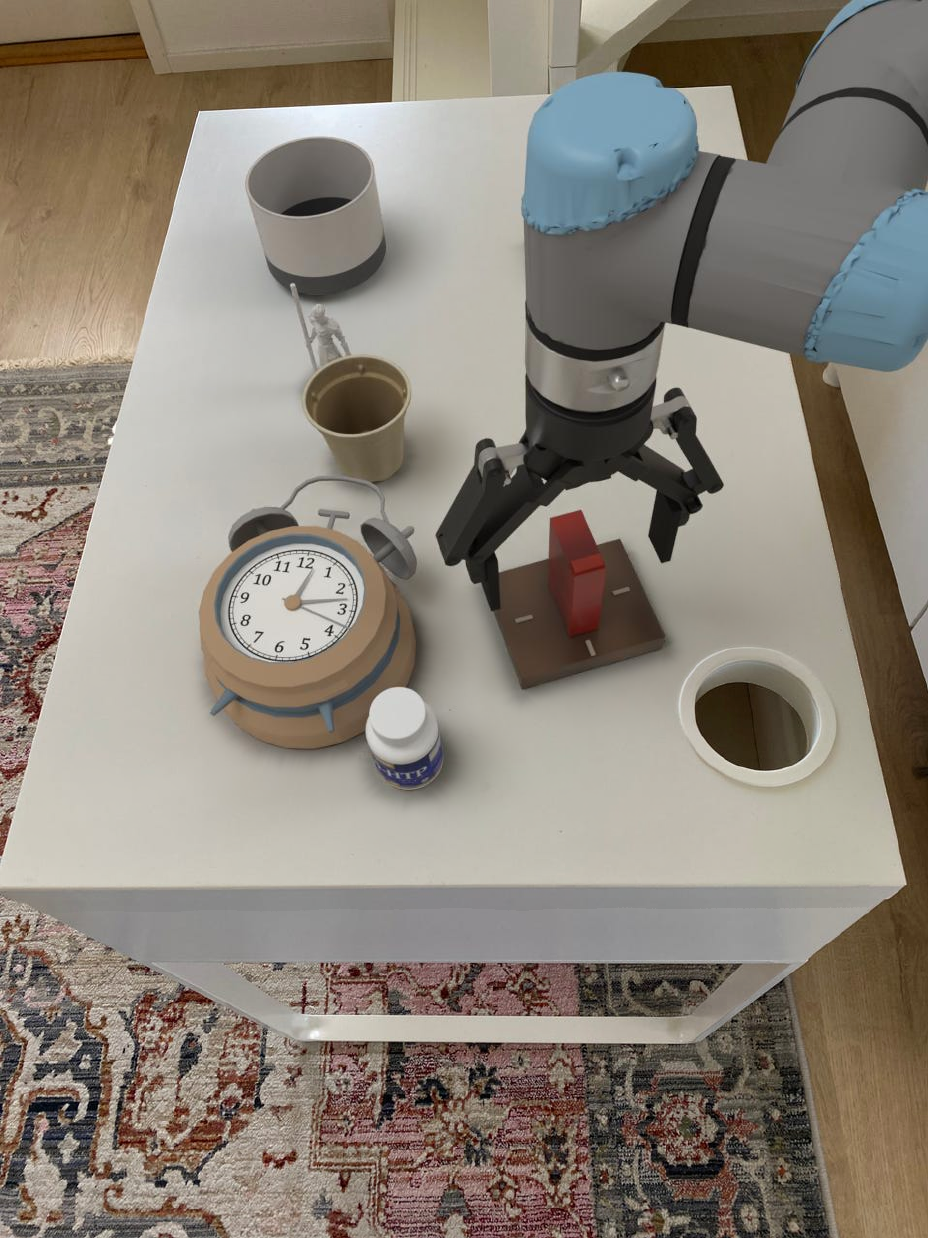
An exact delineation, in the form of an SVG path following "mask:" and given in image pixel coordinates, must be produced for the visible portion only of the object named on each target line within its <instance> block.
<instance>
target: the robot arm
mask: <svg viewBox="0 0 928 1238" xmlns="http://www.w3.org/2000/svg"><path fill="white" fill-rule="evenodd" d="M697 132H698V121H697V116H696V113H695V110H694V108H693V106H692V104H691V102H690V101H689V99H688V98H687V97H686V96H685V94H683V93H682V92H681V91H679V90H678V89H677V88H675V87H664V86H663V84H662V82H661V80H660V79H658V78H657V77H655V76H651V75H648V74H644V73H638V72H629V71H611V72H610V71H609V72H600V73H595V74H592V75H586V76H583V77H581V78H578V79H575V80H573V81H570V82H568V83H566V84H564V85H563V86H561V87H559V88H558V89H556V90H554V92H553V93H552V94H550V95H549V96H548V97H547V98H546V99H545V100H544V101H543V103H542V104H541V105H540V107H539V108H538V109H537V110H536V111H535V112H534V114H533V117H532V120H531V122H530V125H529V129H528V132H527V140H526V153H525V154H526V155H525V156H526V157H525V172H524V190H523V194H522V196H521V205H520V211H521V213H520V214H521V216H522V218H523V242H524V243H523V244H524V245H523V246H524V247H523V248H524V271H525V272H524V274H525V275H524V277H525V278H524V279H525V282H524V283H525V301H524V308H525V309H524V311H525V319H524V321H525V322H524V325H525V326H524V327H525V328H524V367H525V368H524V369H525V375H524V383H525V384H524V386H525V388H524V389H525V391H524V392H525V394H524V395H525V396H524V397H525V399H524V400H525V402H524V403H525V404H524V407H525V408H524V409H525V413H524V414H525V430H524V432H523V434H522V435H521V437H520V439H519V441H518V443H514V444H507V445H503V446H496V443H495V441H494V440H493V438H489V437H488V438H487V437H485V438H482V439H480V440H479V441H478V442H477V443H476V444H475V448H474V449H475V450H474V461H473V465H472V468H471V469H470V470H469V473H468V474H467V476H466V478H465V480H464V482H463V484H462V486H461V487H460V489H459V491H458V493H457V494H456V496H455V498H454V500H453V502H452V503H451V505H450V507H449V509H448V511H447V513H446V514H445V516H444V518H443V520H442V521H441V523H440V525H439V527H438V528H437V531H436V533H435V539H436V541H437V545H438V547H439V550H440V551H439V552H440V553H441V557H442V559H443V562H444V565H445V566H447V567H454V566H457V565H458V564H460V563H461V562H462V561H464V562H465V568H466V571H467V573H468V576H469V579H470V582H471V584H473V585H477V584H481V587H482V590H483V592H484V597H485V598H486V601H487V604H488V606H489V607H488V608H489V609H490V612H494V611H495V610H498V609H501V606H500V587H499V572H500V571H499V560H498V557H497V554H496V551H497V550H498V549H499V548H500V547H501V546H502V544H504V543H505V542H506V541H507V539H508V538H510V537H511V536H512V535H513V533H515V532H516V530H518V529H519V528H520V526H522V525H523V523H525V522H526V520H527V519H528V518H529V517H530V516H531V515H533V513H534V512H536V510H537V509H539V508H540V507H541V506H542V507H548V506H549V505H550V504H552V502H553V501H555V500H556V499H557V498H558V497H559V496H560V495H561V494H562V493H563V491H571V490H574V489H578V488H579V487H581V486H584V485H586V484H588V483H597V482H602V481H606V480H610V479H612V476H613V475H615V474H617V473H619V474H621V475H623V476H624V477H627V479H630V480H632V481H634V482H638V481H640V482H642V483H644V484H645V485H648V486H649V487H650V488H653V489H654V490H655V491H656V492H655V497H654V502H653V503H654V504H653V508H652V512H651V519H650V523H649V529H648V534H647V537H648V539H649V541H650V543H651V545H652V547H653V549H654V551H655V553H656V555H657V558H658V561H659V562H660V564H665V563H667V562H671V561H672V556H673V551H674V547H675V543H676V540H677V534H678V532H679V531H678V530H679V527H683V526H686V525H687V523H688V522H689V520H690V516H691V515H694V514H696V513H698V512H700V511H701V510H702V508H703V507H704V506H703V505H704V504H703V503H702V501H701V499H700V497H699V495H700V494H701V495H702V493H705V492H707V493H708V494H711V495H712V494H717V493H718V492H720V491H722V490H723V488H724V485H725V483H724V481H723V479H722V478H721V477H720V474H719V472H718V470H717V469H716V467H715V465H714V464H713V462H712V460H711V458H710V456H709V455H708V453H707V451H706V450H705V448H704V445H703V444H702V443H701V441H700V440H699V438H698V436H697V425H698V423H697V422H698V421H697V420H698V418H697V415H696V413H695V412H694V409H693V408H692V406H691V404H690V402H689V401H688V399H687V397H686V396H685V394H684V392H683V390H682V389H681V388H680V387H678V386H677V387H672V388H671V389H668V391H666V392H665V393H664V395H663V402H662V403H659V404H657V405H654V402H655V396H656V395H655V394H656V388H657V379H658V378H657V374H658V370H659V367H660V360H661V354H662V347H663V341H664V336H665V329H666V324H670V325H675V326H680V327H685V328H686V329H692V330H696V331H700V332H704V333H707V334H712V335H716V336H720V337H724V338H727V339H731V340H735V341H739V342H744V343H745V344H746V343H747V344H751V345H755V346H758V347H761V348H766V349H770V350H774V351H777V352H782V353H786V354H790V355H794V356H797V357H801V358H805V360H807V361H808V362H813V363H816V364H823V363H833V364H838V365H843V366H849V367H855V368H860V369H866V370H870V371H871V370H872V371H878V372H882V373H883V372H885V373H891V372H896V371H900V370H902V369H904V368H906V367H907V366H909V365H910V364H912V362H914V361H915V360H916V359H917V357H918V356H919V355H920V353H921V352H922V350H923V348H924V347H925V345H926V344H927V342H928V191H926V188H927V185H928V0H850V2H848V3H847V4H846V5H844V6H843V8H841V10H840V11H839V12H838V13H837V14H836V15H835V16H834V17H833V19H832V20H831V21H830V22H829V24H828V25H827V27H826V28H825V30H824V32H823V33H822V35H821V37H820V39H818V41H817V42H816V44H815V45H814V47H813V48H812V49H811V51H810V53H809V55H808V56H807V59H806V60H805V63H804V64H803V67H802V69H801V72H800V75H799V78H798V80H797V82H796V86H795V93H794V96H793V99H792V100H791V104H790V107H789V109H788V111H787V114H786V115H785V119H784V121H783V124H782V126H781V129H780V131H779V134H778V135H777V137H776V140H775V142H774V144H773V146H772V148H771V151H770V154H769V156H768V158H767V160H766V163H763V162H759V161H753V160H747V159H741V158H735V157H731V156H724V155H721V154H718V153H714V152H708V151H702V150H700V145H699V136H698V134H697ZM654 429H655V430H657V429H658V430H660V432H661V433H662V434H663V435H666V436H667V435H668V436H669V438H670V440H675V441H676V443H677V445H678V447H679V449H680V450H681V452H682V453H683V455H684V457H685V458H686V460H687V462H688V463H689V464H690V466H691V469H688V470H687V471H685V470H684V468H682V467H680V466H679V465H677V464H675V463H674V462H672V461H671V460H669V459H668V458H666V457H665V456H663V455H661V454H660V453H658V452H657V451H656V450H654V449H652V448H651V447H649V446H648V445H646V443H647V441H649V440H650V439H651V437H652V435H653V433H654ZM515 469H516V471H515ZM514 471H515V473H514V475H512V474H513V472H514ZM511 475H512V476H511ZM544 481H545V482H544Z"/></svg>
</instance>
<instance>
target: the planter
mask: <svg viewBox="0 0 928 1238" xmlns="http://www.w3.org/2000/svg"><path fill="white" fill-rule="evenodd" d="M376 177H377V176H376V171H375V166H374V162H373V160H372V158H371V156H370V155H369V153H368V152H367V151H366V150H365V149H363V148H362V147H361V146H359V145H358V144H356V143H354V142H353V141H349V140H346V139H343V138H339V137H334V136H322V135H321V136H320V135H319V136H306V137H301V138H296V139H292V140H289V141H286V142H283V143H281V144H278V145H276V146H275V147H273V148H270V149H269V150H267V151H266V152H264V153H263V154H262V155H261V156H259V157H258V158H257V159H256V160H255V161H254V163H253V164H252V165H251V166H250V168H249V170H248V172H247V174H246V177H245V183H244V184H245V185H244V187H245V192H246V193H245V194H246V196H247V200H248V202H249V206H250V209H251V213H252V217H253V219H254V224H255V226H256V231H257V234H258V237H259V241H260V244H261V248H262V251H263V254H264V257H265V260H266V264H267V268H268V270H269V272H270V275H271V276H272V277H273V278H274V280H275V281H277V282H278V283H279V284H280V285H282V286H283V287H285V288H286V289H288V290H291V288H290V284H292V283H294V284H295V286H296V289H297V292H298V293H299V294H300V293H301V294H305V295H315V296H316V295H318V296H319V295H320V296H321V295H323V296H324V295H333V294H338V293H341V292H344V291H348V290H350V289H353V288H355V287H357V286H359V285H361V284H363V283H364V282H366V281H367V280H369V279H370V278H371V277H372V276H373V275H374V274H376V272H377V271H378V270H379V269H380V267H382V264H383V262H384V261H385V259H386V258H385V257H386V255H387V254H386V253H387V241H386V235H385V229H384V222H383V216H382V211H381V204H380V196H379V190H378V184H377V178H376Z"/></svg>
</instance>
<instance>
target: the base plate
mask: <svg viewBox="0 0 928 1238" xmlns="http://www.w3.org/2000/svg"><path fill="white" fill-rule="evenodd" d="M597 547H598V549H599V551H600V554H601V556H602V558H603V561H604V563H605V565H606V567H607V568H606V576H605V584H604V592H603V599H602V607H601V615H600V623H599V629H597V630H593V631H590V632H586V633H583V634H579V635H576V636H572V637H569V635H568V633H567V630H566V627H565V625H564V622H563V620H562V617H561V615H560V612H559V610H558V607H557V605H556V602H555V599H554V597H553V594H552V592H551V589H550V587H549V584H548V560H549V558H546V559H541V560H538V561H535V562H532V563H527V564H523V565H521V566H520V565H519V566H517V567H513V568H509V569H506V570H503V571H499V587H500V606H501V609H498V610H495V611H493V615H494V617H495V619H496V623H497V625H498V627H499V630H500V634H501V636H502V639H503V641H504V644H505V647H506V650H507V653H508V655H509V658H510V661H511V664H512V667H513V669H514V672H515V674H516V677H517V680H518V683H519V686H520V688H521V690H524V689H529V688H531V687H534V686H540V685H542V684H545V683H548V682H552V681H555V680H559V679H562V678H567V677H569V676H572V675H576V674H579V673H582V672H583V673H584V672H586V671H590V670H594V669H596V668H599V667H604V666H607V665H609V664H613V663H617V662H620V661H623V660H627V659H630V658H634V657H637V656H641V655H644V654H647V653H648V654H649V653H651V652H655V651H658V650H662V649H663V648H664V644H665V640H666V635H665V632H664V630H663V628H662V626H661V624H660V622H659V620H658V618H657V615H656V612H655V611H654V609H653V606H652V604H651V601H650V599H649V597H648V596H647V593H646V591H645V588H644V587H643V584H642V582H641V580H640V578H639V576H638V575H637V572H636V570H635V568H634V566H633V563H632V561H631V559H630V557H629V555H628V552H627V551H626V548H625V545H624V544H623V542H622V540H621V538H617V539H613V540H609V541H605V542H603V543H599V544H597Z"/></svg>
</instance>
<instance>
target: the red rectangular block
mask: <svg viewBox="0 0 928 1238" xmlns="http://www.w3.org/2000/svg"><path fill="white" fill-rule="evenodd" d="M548 530H549V532H548V539H549V540H548V559H549V560H548V584H549V587H550V589H551V592H552V594H553V597H554V599H555V602H556V605H557V607H558V610H559V612H560V615H561V617H562V620H563V622H564V625H565V627H566V630H567V633H568V635H569V637H572V636H576V635H579V634H583V633H586V632H590V631H593V630H597V629H599V623H600V615H601V607H602V599H603V592H604V584H605V576H606V568H607V567H606V565H605V563H604V561H603V558H602V556H601V554H600V551H599V549H598V547H597V545H598V544H597V543H596V541H595V538H594V536H593V533H592V531H591V528H590V525H589V524H588V521H587V520H586V517H585V515H584V512H583V510H582V509H578V510H574V511H571V512H567V513H563V514H559V515H556V516H552V517H550V518H549V528H548Z"/></svg>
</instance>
